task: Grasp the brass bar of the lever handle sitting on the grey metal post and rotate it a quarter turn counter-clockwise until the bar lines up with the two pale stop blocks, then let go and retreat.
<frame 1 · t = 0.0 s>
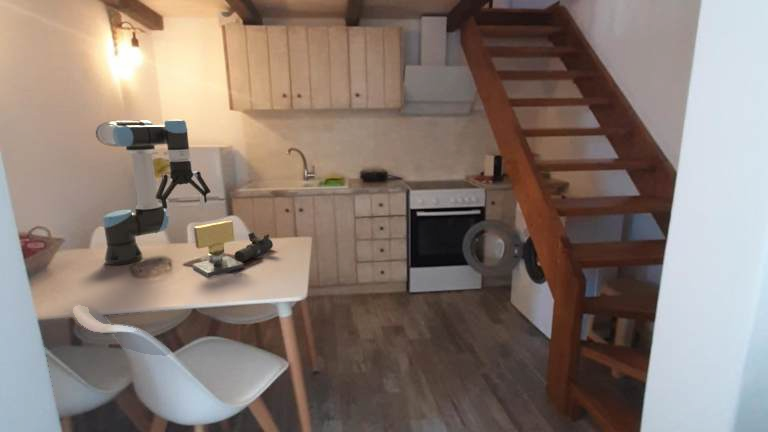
hand: (186, 213, 167), 28 cm above the table, fingers open, 13 cm apart
lever handle: (215, 238, 183), point 14 cm above the table, hinge at 0.0°
laser sight: (255, 256, 203), on the table
post base: (218, 268, 186), on the table
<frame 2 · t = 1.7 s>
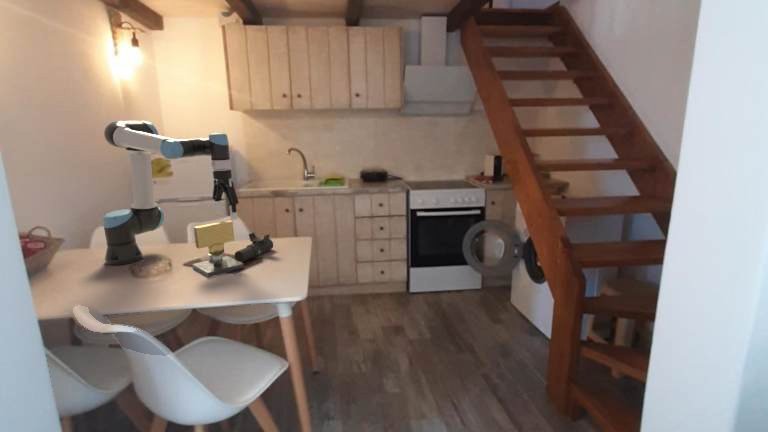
hand: (227, 217, 185), 22 cm above the table, fingers open, 13 cm apart
nothing on the table moved.
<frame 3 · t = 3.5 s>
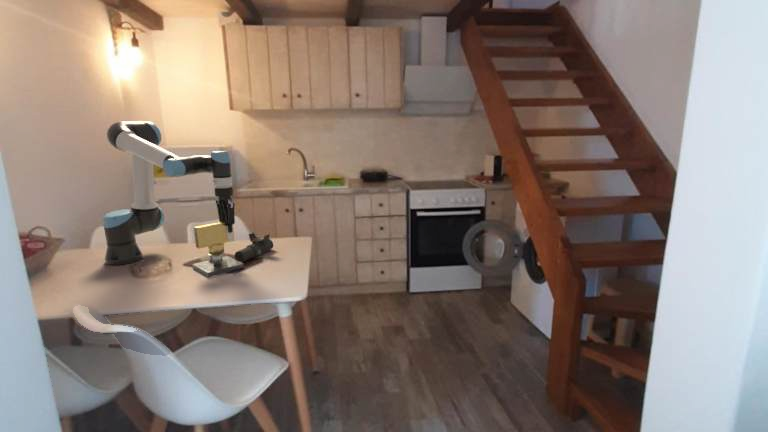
hand: (228, 238, 187), 13 cm above the table, fingers closed on lever handle, 2 cm apart
lever handle: (215, 238, 183), point 14 cm above the table, hinge at 0.6°, touching gripper
everything else where it was.
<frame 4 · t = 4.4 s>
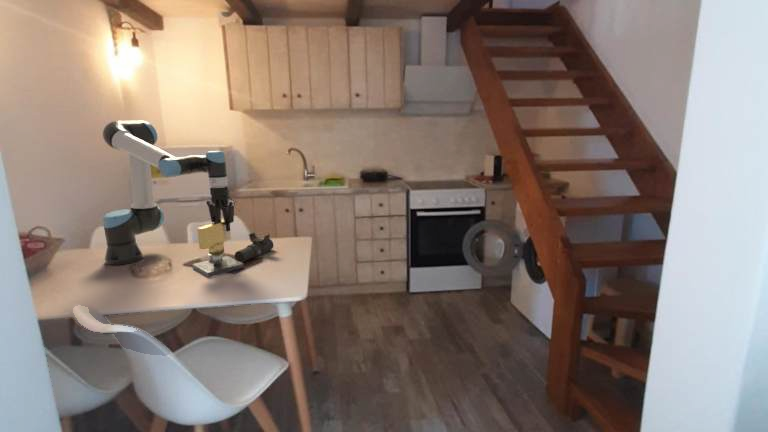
hand: (224, 237, 189), 13 cm above the table, fingers closed on lever handle, 2 cm apart
lever handle: (215, 238, 183), point 14 cm above the table, hinge at 23.5°, touching gripper
everything else where it was.
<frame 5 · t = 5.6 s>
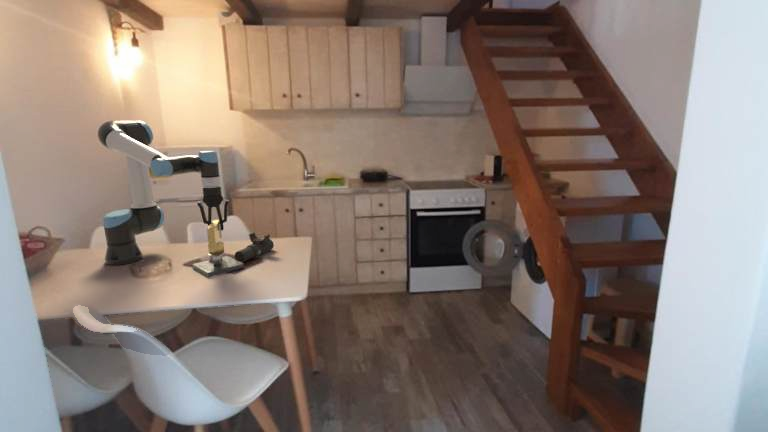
hand: (217, 237, 189), 13 cm above the table, fingers closed on lever handle, 2 cm apart
lever handle: (215, 238, 183), point 14 cm above the table, hinge at 57.0°, touching gripper
everything else where it was.
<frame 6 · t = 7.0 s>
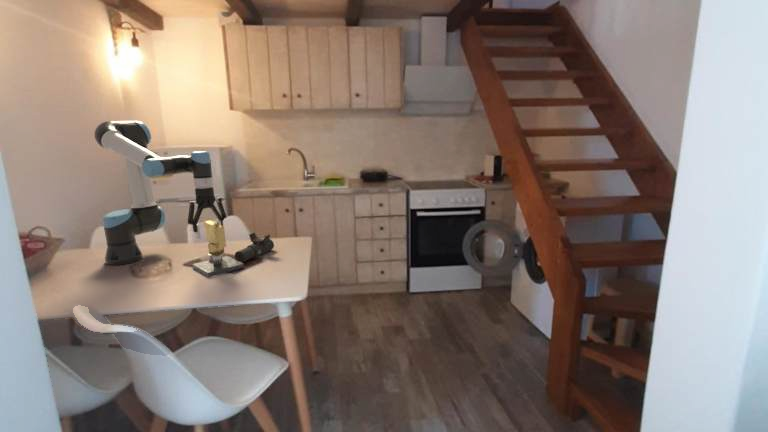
hand: (209, 236, 187), 14 cm above the table, fingers open, 9 cm apart
lever handle: (215, 238, 183), point 14 cm above the table, hinge at 86.5°
everything else where it was.
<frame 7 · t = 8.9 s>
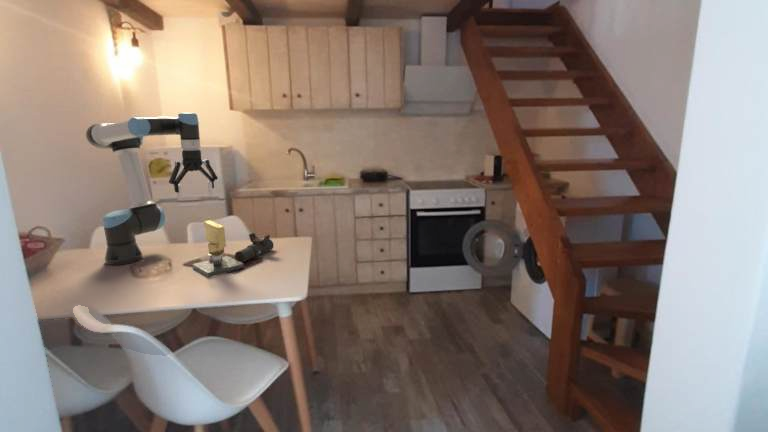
hand: (195, 197, 185), 31 cm above the table, fingers open, 13 cm apart
nothing on the table moved.
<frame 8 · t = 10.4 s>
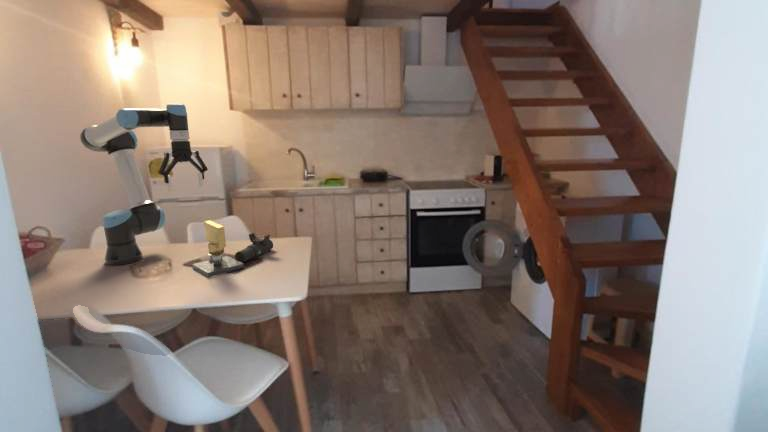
hand: (186, 188, 186), 35 cm above the table, fingers open, 13 cm apart
at the end: lever handle at +86° (first picture: +0°); the gripper is holding nothing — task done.
